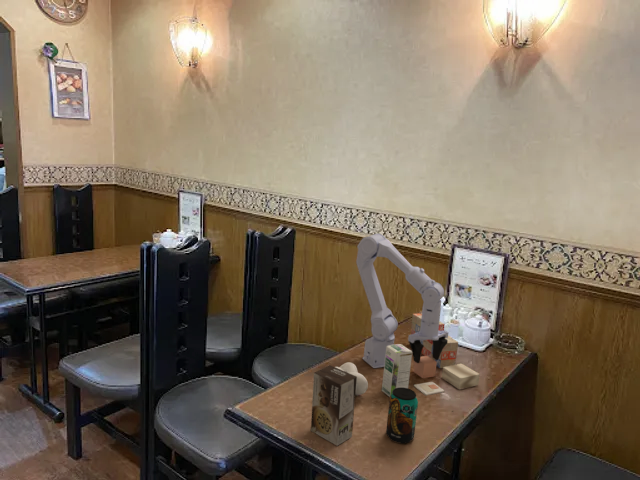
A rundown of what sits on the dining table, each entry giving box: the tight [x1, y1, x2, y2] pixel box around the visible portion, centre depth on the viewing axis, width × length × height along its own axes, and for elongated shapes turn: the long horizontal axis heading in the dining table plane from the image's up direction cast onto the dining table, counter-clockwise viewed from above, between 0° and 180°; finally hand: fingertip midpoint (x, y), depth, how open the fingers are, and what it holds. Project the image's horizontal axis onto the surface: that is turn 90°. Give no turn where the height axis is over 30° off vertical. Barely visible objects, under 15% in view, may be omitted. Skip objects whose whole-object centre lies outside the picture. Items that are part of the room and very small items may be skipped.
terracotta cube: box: [413, 355, 437, 379], centre depth 155 cm, size 5×5×5 cm
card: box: [413, 381, 445, 396], centre depth 146 cm, size 7×6×1 cm
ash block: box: [441, 363, 480, 390], centre depth 152 cm, size 8×8×4 cm
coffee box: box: [310, 364, 357, 447], centre depth 118 cm, size 9×6×16 cm
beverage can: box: [385, 387, 419, 444], centre depth 119 cm, size 7×7×12 cm
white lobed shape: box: [334, 362, 369, 396], centre depth 138 cm, size 11×12×9 cm
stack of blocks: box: [410, 312, 459, 369], centre depth 170 cm, size 21×6×12 cm, turn 18°
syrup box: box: [381, 343, 413, 398], centre depth 140 cm, size 6×6×14 cm
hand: (426, 360), depth 155 cm, fingers open, 7 cm apart
